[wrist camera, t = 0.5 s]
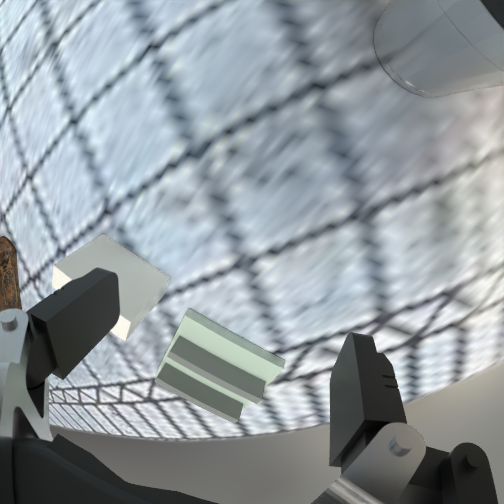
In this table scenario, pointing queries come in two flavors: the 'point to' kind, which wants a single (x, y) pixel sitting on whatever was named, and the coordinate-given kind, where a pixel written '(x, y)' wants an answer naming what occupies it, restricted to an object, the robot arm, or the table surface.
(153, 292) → the cream rectangular prism
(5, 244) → the book
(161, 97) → the table surface
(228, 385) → the dish rack
